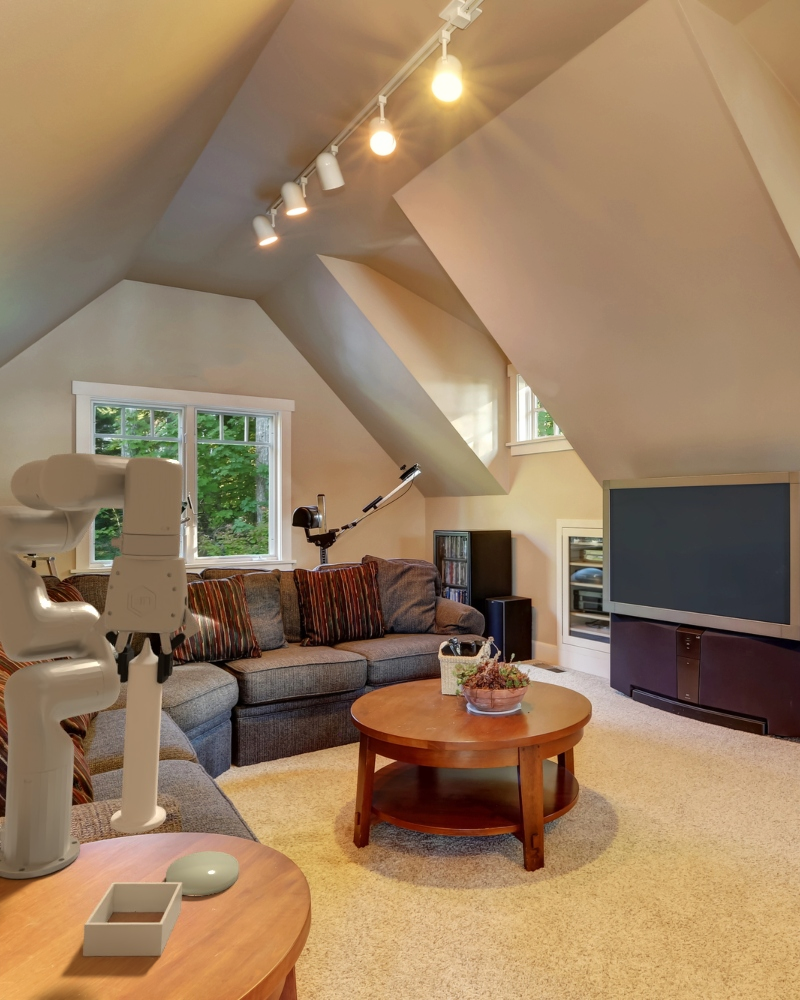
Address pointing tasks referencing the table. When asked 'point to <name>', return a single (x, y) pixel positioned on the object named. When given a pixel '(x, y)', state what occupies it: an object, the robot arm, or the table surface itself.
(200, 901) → the table surface
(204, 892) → the pale green dome
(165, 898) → the tray
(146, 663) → the candle
